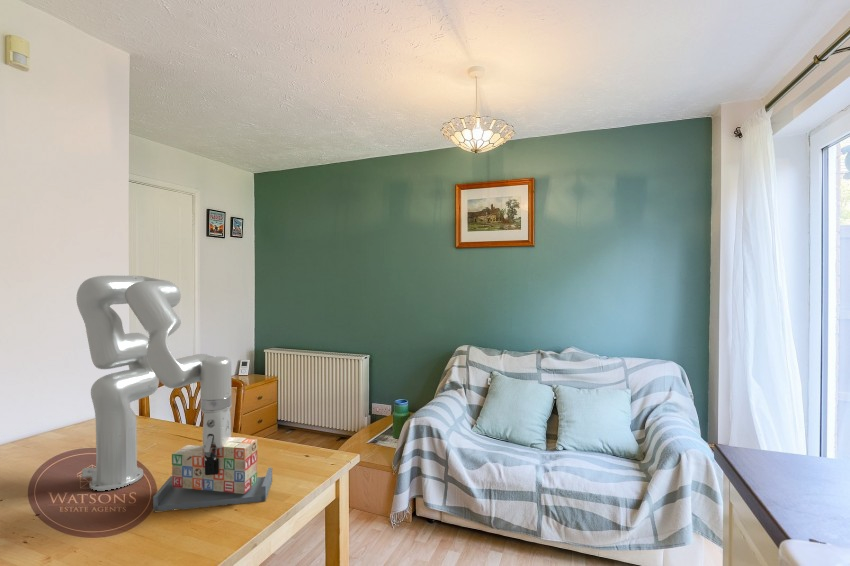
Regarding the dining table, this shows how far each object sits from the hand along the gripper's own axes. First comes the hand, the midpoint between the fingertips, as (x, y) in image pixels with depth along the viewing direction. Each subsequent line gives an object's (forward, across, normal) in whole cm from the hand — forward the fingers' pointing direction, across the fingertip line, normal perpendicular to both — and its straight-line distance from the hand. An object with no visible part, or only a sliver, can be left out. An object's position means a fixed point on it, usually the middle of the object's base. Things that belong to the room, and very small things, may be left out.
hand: (216, 466), depth 113 cm
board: (+8, 0, 0) cm, 8 cm away
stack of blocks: (+5, 0, 0) cm, 5 cm away
